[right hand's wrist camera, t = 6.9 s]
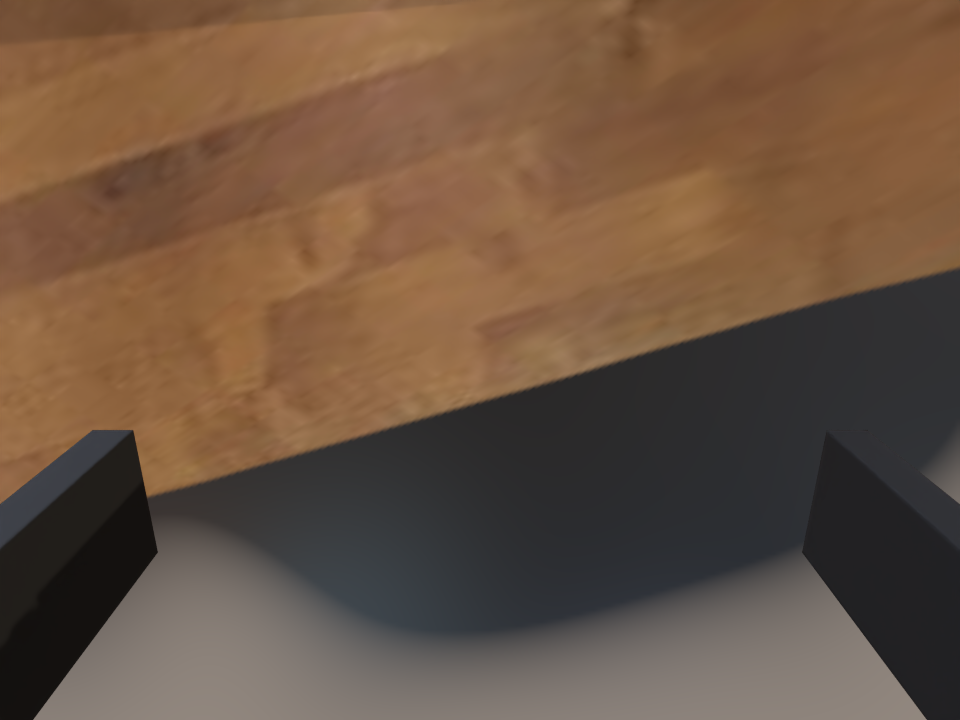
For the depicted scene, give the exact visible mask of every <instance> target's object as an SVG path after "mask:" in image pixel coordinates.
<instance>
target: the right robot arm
mask: <svg viewBox="0 0 960 720" xmlns="http://www.w3.org/2000/svg"><path fill="white" fill-rule="evenodd" d="M157 553H158V551H157V546H156V541H155V536H154V531H153V526H152V521H151V516H150V511H149V506H148V501H147V496H146V492H145V487H144V482H143V477H142V472H141V467H140V462H139V457H138V452H137V447H136V442H135V437H134V432H133V430H92V431H91V432H90V433H89V434H87V435H86V436H85V437H84V438H82V439H81V440H80V441H79V442H77V443H76V444H75V445H74V446H72V447H71V448H70V449H69V450H67V451H66V452H65V453H64V454H62V455H61V456H60V457H59V458H57V459H56V460H55V461H54V462H52V463H51V464H50V465H49V466H47V467H46V468H45V469H44V470H42V471H41V472H40V473H39V474H37V475H36V476H35V477H34V478H32V479H31V480H30V481H29V482H27V483H26V484H25V485H24V486H22V487H21V488H20V489H19V490H17V491H16V492H15V493H14V494H12V495H11V496H10V497H9V498H7V499H6V500H5V501H4V502H2V503H1V504H0V720H33V719H34V718H35V716H36V715H37V714H38V712H39V711H40V710H41V708H42V707H43V706H44V704H45V703H46V702H47V700H48V699H49V698H50V696H51V695H52V694H53V692H54V691H55V690H56V688H57V687H58V686H59V684H60V683H61V682H62V680H63V679H64V678H65V676H66V675H67V673H68V672H69V671H70V669H71V668H72V667H73V665H74V664H75V663H76V661H77V660H78V659H79V657H80V656H81V655H82V653H83V652H84V651H85V649H86V648H87V647H88V645H89V644H90V643H91V641H92V640H93V639H94V637H95V636H96V635H97V633H98V632H99V631H100V629H101V628H102V627H103V625H104V624H105V623H106V621H107V620H108V618H109V617H110V616H111V614H112V613H113V612H114V610H115V609H116V608H117V606H118V605H119V604H120V602H121V601H122V600H123V598H124V597H125V596H126V594H127V593H128V592H129V590H130V589H131V588H132V586H133V585H134V583H135V582H136V581H137V579H138V578H139V577H140V576H141V574H142V573H143V571H144V570H145V569H146V567H147V566H148V565H149V563H150V562H151V561H152V559H153V558H154V557H155V555H156V554H157ZM802 553H803V554H804V555H805V557H806V558H807V559H808V561H809V562H810V563H811V565H812V566H813V567H814V569H815V570H816V571H817V573H818V574H819V576H820V577H821V578H822V580H823V581H824V582H825V584H826V585H827V586H828V588H829V589H830V590H831V592H832V593H833V594H834V596H835V597H836V598H837V600H838V601H839V602H840V604H841V605H842V606H843V608H844V609H845V610H846V612H847V613H848V614H849V616H850V617H851V618H852V620H853V621H854V623H855V624H856V625H857V627H858V628H859V629H860V631H861V632H862V633H863V635H864V636H865V637H866V639H867V640H868V641H869V643H870V644H871V645H872V647H873V648H874V649H875V651H876V652H877V653H878V655H879V656H880V657H881V659H882V660H883V661H884V663H885V664H886V665H887V667H888V668H889V669H890V671H891V672H892V674H893V675H894V676H895V678H896V679H897V680H898V682H899V683H900V684H901V686H902V687H903V688H904V689H905V691H906V692H907V694H908V695H909V696H910V698H911V699H912V700H913V702H914V703H915V704H916V706H917V707H918V708H919V710H920V711H921V712H922V714H923V715H924V716H925V718H926V719H927V720H960V504H959V503H957V502H956V501H955V500H954V499H952V498H951V497H950V496H949V495H948V494H946V493H945V492H944V491H942V490H941V489H940V488H939V487H938V486H936V485H935V484H934V483H933V482H931V481H930V480H929V479H928V478H926V477H925V476H924V475H923V474H921V473H920V472H919V471H917V470H916V469H915V468H914V467H913V466H911V465H910V464H909V463H908V462H906V461H905V460H904V459H903V458H901V457H900V456H899V455H898V454H896V453H895V452H894V451H893V450H891V449H890V448H889V447H888V446H886V445H885V444H884V443H883V442H881V441H880V440H879V439H878V438H876V437H875V436H874V435H873V434H871V433H870V432H869V431H868V430H827V432H826V437H825V442H824V447H823V452H822V457H821V462H820V467H819V472H818V477H817V482H816V487H815V492H814V497H813V501H812V506H811V511H810V516H809V521H808V526H807V531H806V536H805V541H804V546H803V551H802Z"/></svg>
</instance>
